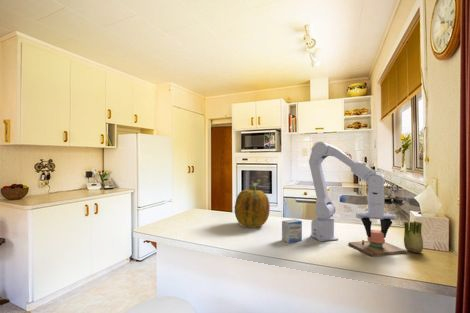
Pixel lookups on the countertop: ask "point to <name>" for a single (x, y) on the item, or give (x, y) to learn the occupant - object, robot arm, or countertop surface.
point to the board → (372, 251)
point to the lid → (376, 237)
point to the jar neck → (375, 245)
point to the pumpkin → (252, 207)
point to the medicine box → (292, 230)
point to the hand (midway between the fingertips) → (376, 236)
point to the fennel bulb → (413, 237)
